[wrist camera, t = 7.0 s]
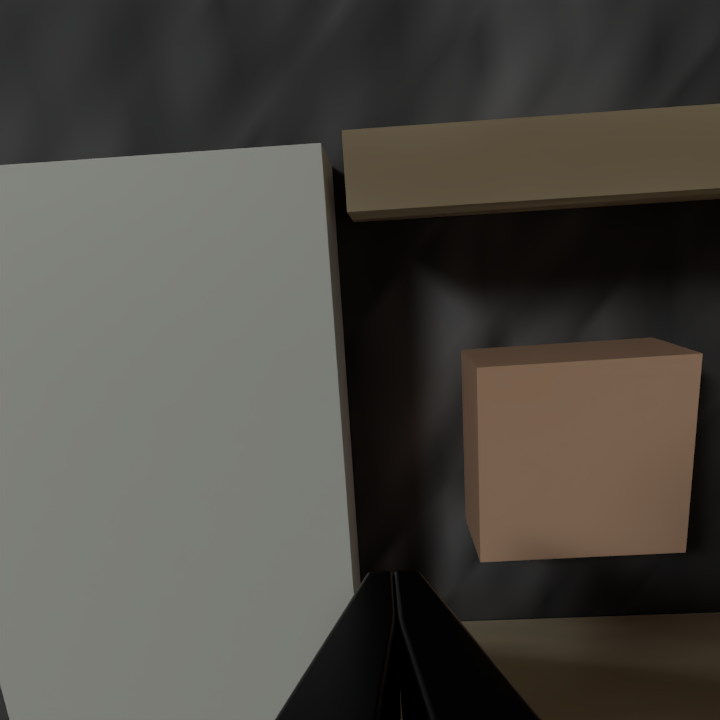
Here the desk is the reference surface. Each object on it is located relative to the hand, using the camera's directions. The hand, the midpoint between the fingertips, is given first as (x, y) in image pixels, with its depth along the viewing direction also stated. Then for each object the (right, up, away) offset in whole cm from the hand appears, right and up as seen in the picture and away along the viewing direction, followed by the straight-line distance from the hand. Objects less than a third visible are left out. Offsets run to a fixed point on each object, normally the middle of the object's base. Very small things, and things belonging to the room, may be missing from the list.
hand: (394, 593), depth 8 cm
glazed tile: (+5, +1, +5) cm, 7 cm away
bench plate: (-6, +1, +7) cm, 9 cm away
